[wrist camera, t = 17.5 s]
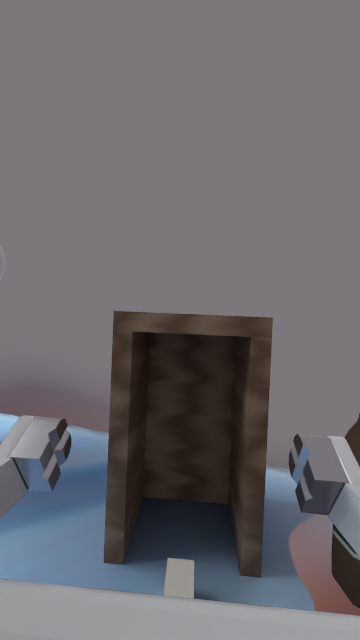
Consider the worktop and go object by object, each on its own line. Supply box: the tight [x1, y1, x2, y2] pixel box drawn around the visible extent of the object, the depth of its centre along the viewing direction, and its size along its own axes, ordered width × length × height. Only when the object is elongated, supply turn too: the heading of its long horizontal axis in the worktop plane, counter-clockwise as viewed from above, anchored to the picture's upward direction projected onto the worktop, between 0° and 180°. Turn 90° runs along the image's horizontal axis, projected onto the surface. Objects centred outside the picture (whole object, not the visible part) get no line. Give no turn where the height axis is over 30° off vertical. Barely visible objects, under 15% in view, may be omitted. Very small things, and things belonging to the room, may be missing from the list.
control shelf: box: [104, 311, 273, 577], centre depth 36 cm, size 16×13×26 cm
